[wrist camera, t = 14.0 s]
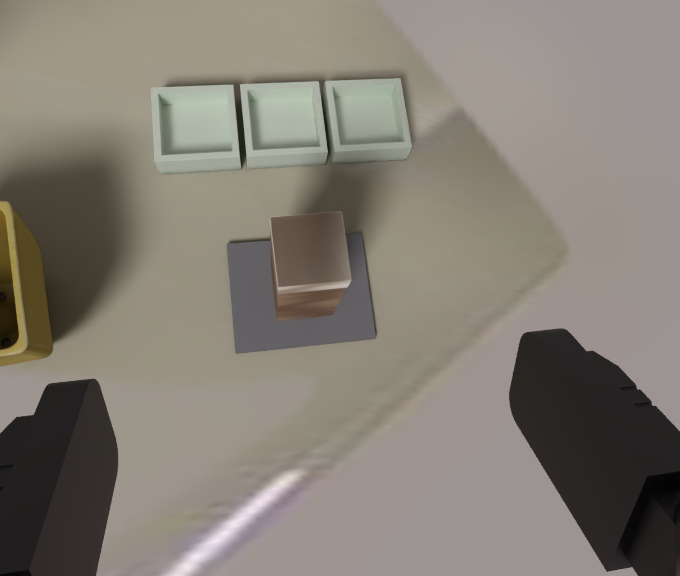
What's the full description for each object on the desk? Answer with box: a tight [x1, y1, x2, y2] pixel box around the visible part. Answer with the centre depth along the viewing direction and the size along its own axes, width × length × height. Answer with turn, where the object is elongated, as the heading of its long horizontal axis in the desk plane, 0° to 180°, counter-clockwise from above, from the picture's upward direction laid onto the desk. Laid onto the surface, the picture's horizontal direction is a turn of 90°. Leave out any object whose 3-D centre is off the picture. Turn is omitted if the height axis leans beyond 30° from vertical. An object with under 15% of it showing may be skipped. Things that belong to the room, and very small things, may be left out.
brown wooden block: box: [270, 211, 352, 321], centre depth 35 cm, size 4×4×10 cm
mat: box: [227, 233, 376, 354], centre depth 40 cm, size 10×8×1 cm
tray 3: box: [323, 78, 412, 164], centre depth 43 cm, size 6×6×2 cm
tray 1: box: [151, 85, 241, 174], centre depth 41 cm, size 6×6×2 cm
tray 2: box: [240, 81, 328, 169], centre depth 42 cm, size 6×6×2 cm
